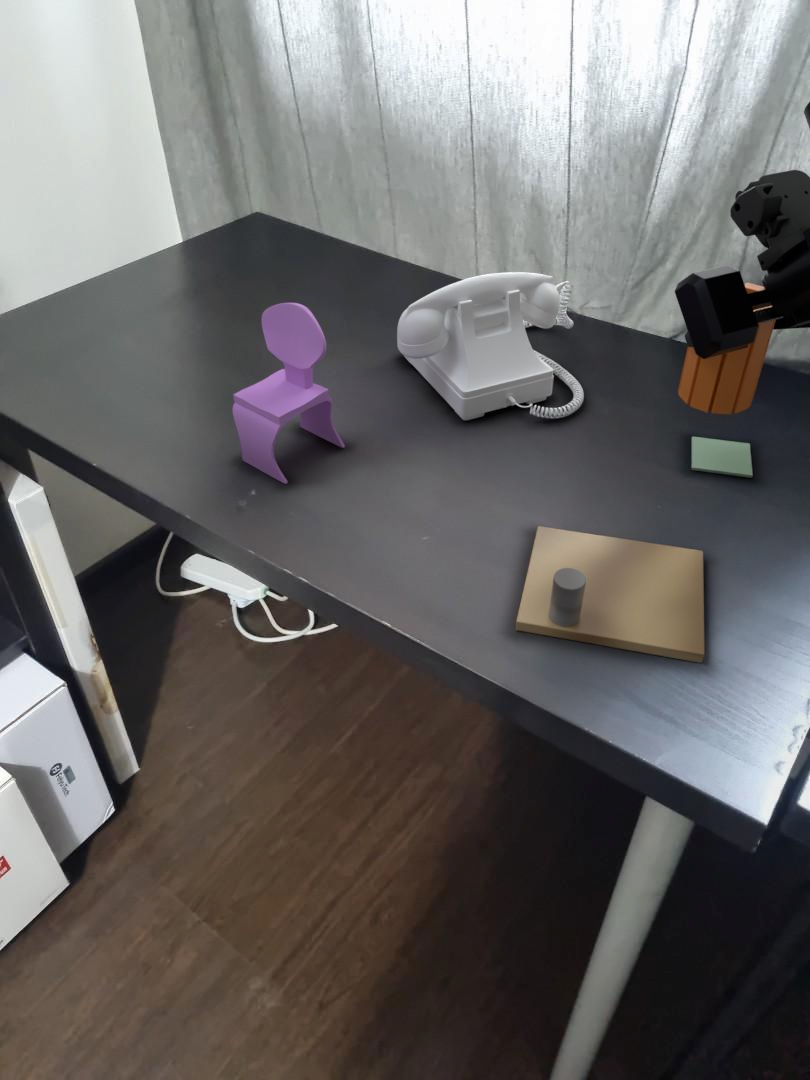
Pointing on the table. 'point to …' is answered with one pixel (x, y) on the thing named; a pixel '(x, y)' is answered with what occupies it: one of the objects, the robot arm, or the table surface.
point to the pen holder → (726, 373)
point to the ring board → (615, 593)
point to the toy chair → (285, 388)
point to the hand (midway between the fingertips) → (719, 332)
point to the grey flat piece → (721, 457)
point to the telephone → (488, 342)
